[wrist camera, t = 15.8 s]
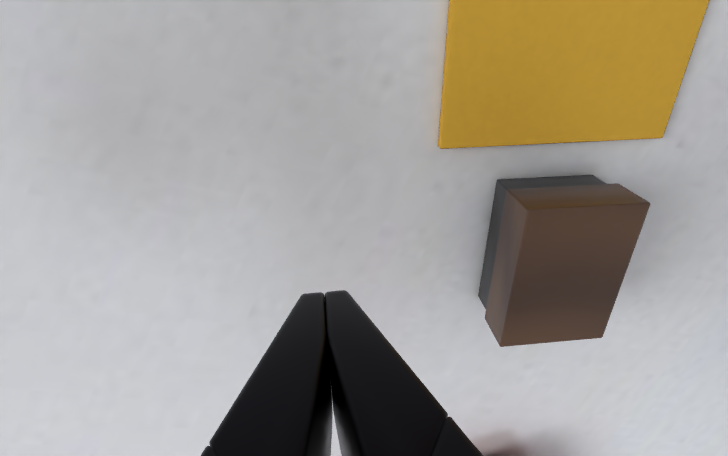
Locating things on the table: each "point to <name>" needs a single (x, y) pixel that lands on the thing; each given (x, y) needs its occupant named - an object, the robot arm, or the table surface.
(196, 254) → the table surface
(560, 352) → the table surface
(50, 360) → the table surface
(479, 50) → the cloth
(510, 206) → the brown rectangular block
